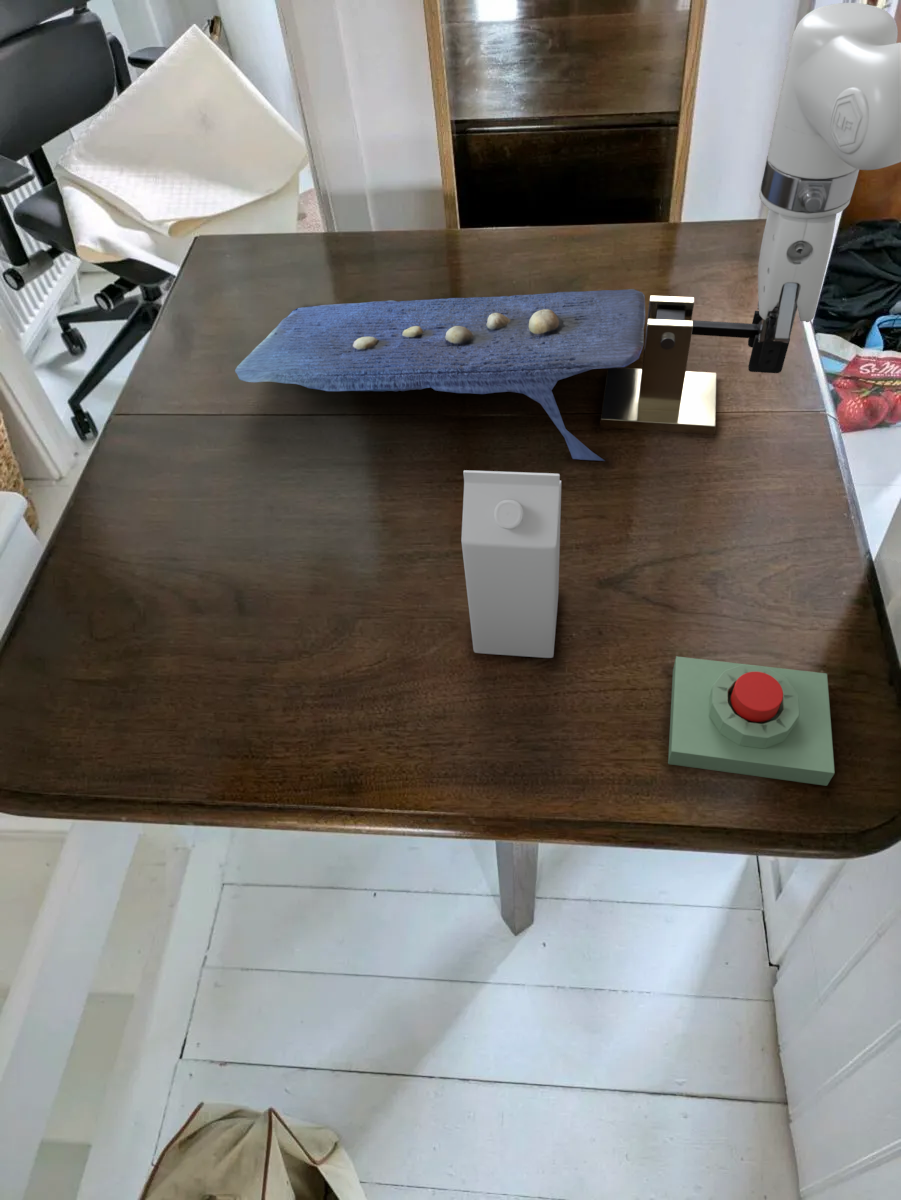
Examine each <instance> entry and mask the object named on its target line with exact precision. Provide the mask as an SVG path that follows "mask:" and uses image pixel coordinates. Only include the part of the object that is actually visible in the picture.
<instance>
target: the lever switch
mask: <svg viewBox="0 0 901 1200" xmlns="http://www.w3.org/2000/svg"><path fill="white" fill-rule="evenodd" d="M656 319H664V320H685V310H669V309H657V313H656ZM688 321H693V330H692V336H709V337H724V338H725V337H726V338H739V339H741V338H742V339H749V338H754V339H755V335H759V332H760V327H761V323H762V320H761V321H760V322H759V323H758V324H752V323H746V322H745V323H744V322H729V321H727V322H726V321H711V320H695V319H692V320H688ZM775 322H776V319H770V320H769V325H768V327H769V326H770V325H775Z"/></svg>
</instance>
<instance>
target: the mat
mask: <svg viewBox="0 0 901 1200" xmlns="http://www.w3.org/2000/svg"><path fill="white" fill-rule="evenodd" d="M645 323H646V298H645V294H644V293H643V292H642V291H640V290H637V289H634V288H630V289H629V288H628V289H613V290H612V289H604V290H603V289H602V290H588V291H587V290H585V291H584V290H583V291H573V290H572V291H557V292H549V293H548V292H547V293H534V294H514V295H510V296H508V295H501V296H483V297H482V296H479V297H478V296H475V297H449V298H434V299H433V298H432V299H413V300H401V301H397V300H393V299H392V300H391V299H389V300H381V301H366V302H353V303H352V302H350V303H335V304H320V305H311V306H304V307H302V306H301V307H297V308H295V309H293V310H292V311H291V312H290V313H289V315H287V316H286V317H285V318H283V319H282V320H281V321H280V322H279V323H278V324H277V326H276V327H275V328H274V329H272V331H271V332H270V333H268V335H267V336H266V338H264V339H263V340H262V341H261V342H259V344H258V345H256V346H255V348H254V349H252V351H251V352H250V353H249V354H248V355H247V356H246V357H245V358H244V359H242V360H241V362H240V363H239V364H238V365H237V366H236V368H235V370H234V372H235V374H236V375H237V378H238V380H239V381H242V382H246V383H264V382H266V383H267V382H270V383H271V382H272V383H279V384H293V385H299V386H302V387H305V388H307V389H313V390H319V391H325V392H383V393H384V392H399V391H401V392H405V391H414V390H415V391H416V390H424V389H433V390H434V391H436V392H437V391H438V392H446V393H455V394H475V395H486V394H494V393H506V392H509V393H517V394H523V395H525V396H527V397H528V398H530V399H531V400H533V401H535V402H537V403H538V404H540V405H541V407H542V408H543V409H544V411H545V412H546V414H547V415H548V417H549V418H550V420H551V421H552V422H553V424H554V425H555V427H556V428H557V429H558V431H559V432H560V434H561V435H562V436H563V438H564V440H565V443H566V446H567V448H568V450H569V453H570V456H571V458H572V460H582V461H597V462H598V461H600V462H601V461H602V462H606V460H605V459H603V458H602V457H600V456H599V455H598V454H596V453H595V452H593V451H592V450H591V449H589V447H588V446H586V445H585V444H584V443H583V442H582V441H580V440H579V439H578V438H577V437H576V436H575V435H573V434H572V433H571V432H570V431H568V430H567V429H566V426H565V423H564V421H563V418H562V415H561V413H560V410H559V406H558V405H557V402H556V399H555V396H554V394H553V391H552V390H553V389H554V387H555V386H556V384H557V383H558V381H560V380H563V379H567V378H570V377H572V376H575V375H578V374H582V373H585V372H588V371H591V370H597V369H598V370H599V369H608V368H627V367H628V366H630V365H631V364H632V363H634V362H636V361H637V360H639V359H640V356H641V354H642V350H643V349H644V348H643V347H644V340H645V337H644V334H645V331H644V329H645Z"/></svg>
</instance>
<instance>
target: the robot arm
mask: <svg viewBox="0 0 901 1200" xmlns="http://www.w3.org/2000/svg"><path fill="white" fill-rule="evenodd" d="M898 30H899V29H898V24H897V22H896V19H895V18H894V17H893V15H892V14H890V12H888V11H887V10H885V9H883V8H881V7H878V6H874V5H871V4H867V3H860V2H839V3H831V4H827V5H822V6H819V7H816V8H814V9H813V10H811V11H809V12H808V13H807V14H805V15H804V16H803V17H802V18H801V19H800V20H799V22H798V23H797V25H796V26H795V29H794V31H793V34H792V37H791V40H790V44H789V49H788V53H787V59H786V63H785V68H784V73H783V78H782V82H781V87H780V93H779V98H778V101H777V105H776V106H777V107H776V111H775V116H774V122H773V126H772V131H771V136H770V141H769V146H768V150H767V155H766V160H765V164H764V169H763V173H762V179H761V184H760V189H759V195H758V196H759V200H760V202H761V204H763V206H765V207H766V208H767V209H768V211H767V216H766V220H765V225H764V229H763V235H762V240H761V245H760V251H759V258H758V265H757V297H758V298H757V299H758V300H757V310H754V312H753V317H752V322H751V324H758V323H759V322H760V321H761V320H762V323H761V327H760V332H759V335H755V339H754V338H747V339H748V340H747V346H748V347H749V348H751V353H750V357H749V361H748V364H747V365H748V366H747V367H748V372H750V373H763V374H764V373H765V374H780V373H781V372H782V370H783V367H784V363H785V360H786V356H787V354H788V353H787V352H788V349H789V345H790V341H791V334H792V332H793V331H792V330H793V327H794V322H795V319H796V314H797V312H798V315H799V316H798V317H799V320H800V322H805V323H810V322H811V321H812V320H813V319H814V317H815V314H816V311H817V307H818V302H819V299H820V294H821V291H822V286H823V282H824V278H825V273H826V270H827V265H828V261H829V256H830V252H831V248H832V243H833V239H834V231H835V226H836V219H837V214H839V213H841V212H842V211H845V209H846V208H847V207H848V206H849V205H850V203H851V199H852V196H853V193H854V190H855V187H856V186H855V185H856V183H857V181H858V177H859V172H860V170H861V171H874V170H880V169H883V168H887V167H891V166H893V165H896V164H899V163H901V42H897V41H898V34H899V32H898ZM797 310H798V311H797ZM770 319H776V322H775V325H770V326H769V327H768V325H769V320H770Z"/></svg>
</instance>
